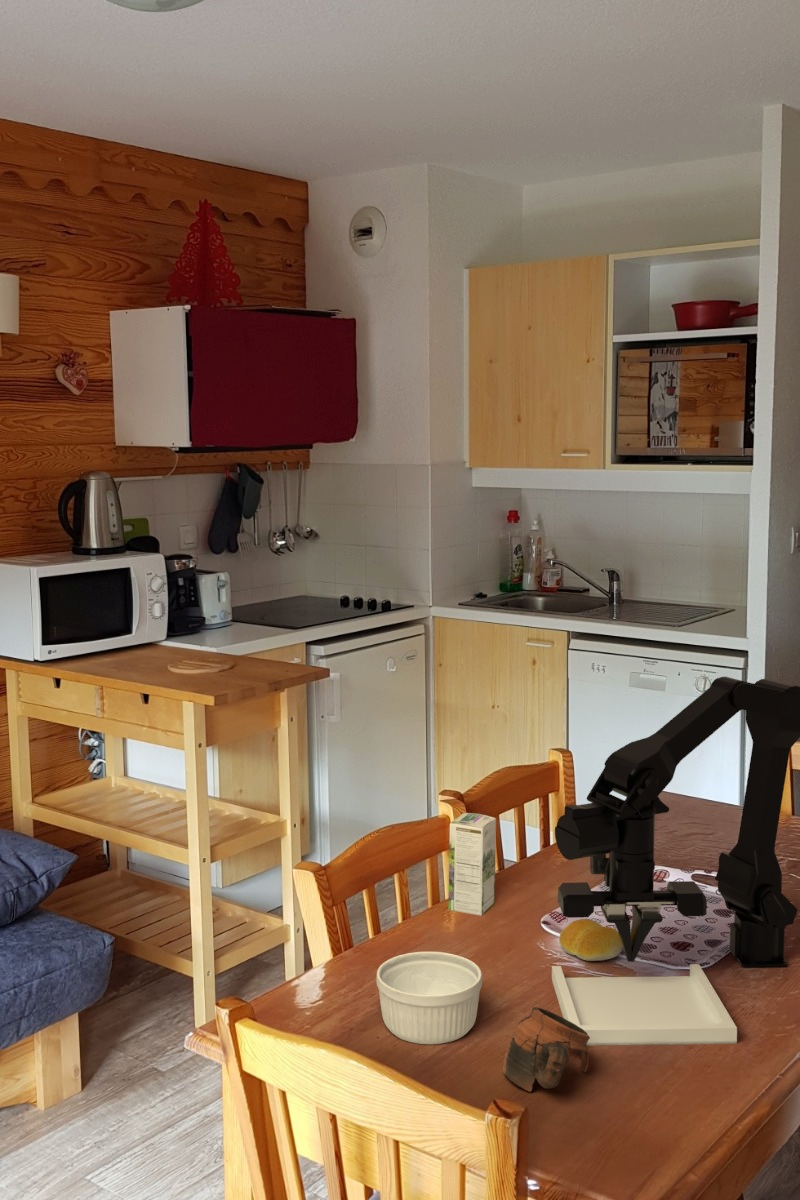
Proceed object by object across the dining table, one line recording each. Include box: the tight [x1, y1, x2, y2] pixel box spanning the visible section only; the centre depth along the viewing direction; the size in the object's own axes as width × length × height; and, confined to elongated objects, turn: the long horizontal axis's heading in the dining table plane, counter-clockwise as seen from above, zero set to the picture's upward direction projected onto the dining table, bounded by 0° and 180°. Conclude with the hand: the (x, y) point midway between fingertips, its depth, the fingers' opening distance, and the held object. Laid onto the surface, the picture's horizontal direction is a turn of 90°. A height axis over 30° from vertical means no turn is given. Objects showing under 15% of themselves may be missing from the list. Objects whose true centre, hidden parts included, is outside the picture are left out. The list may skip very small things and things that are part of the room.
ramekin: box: [376, 951, 483, 1045], centre depth 150 cm, size 13×13×7 cm
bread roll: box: [558, 918, 623, 962], centre depth 171 cm, size 8×9×4 cm
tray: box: [551, 963, 738, 1047], centre depth 154 cm, size 20×18×2 cm
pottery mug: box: [502, 1006, 590, 1093], centre depth 137 cm, size 12×9×8 cm
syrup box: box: [448, 812, 497, 917], centre depth 188 cm, size 6×6×14 cm
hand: (630, 960), depth 159 cm, fingers closed
